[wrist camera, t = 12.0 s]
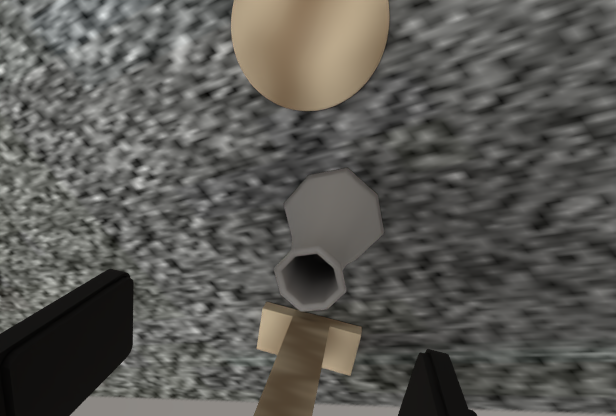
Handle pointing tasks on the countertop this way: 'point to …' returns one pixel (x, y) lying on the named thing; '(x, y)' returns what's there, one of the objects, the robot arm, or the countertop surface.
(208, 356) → the countertop surface
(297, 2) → the coaster
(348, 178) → the flask
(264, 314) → the post
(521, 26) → the countertop surface
